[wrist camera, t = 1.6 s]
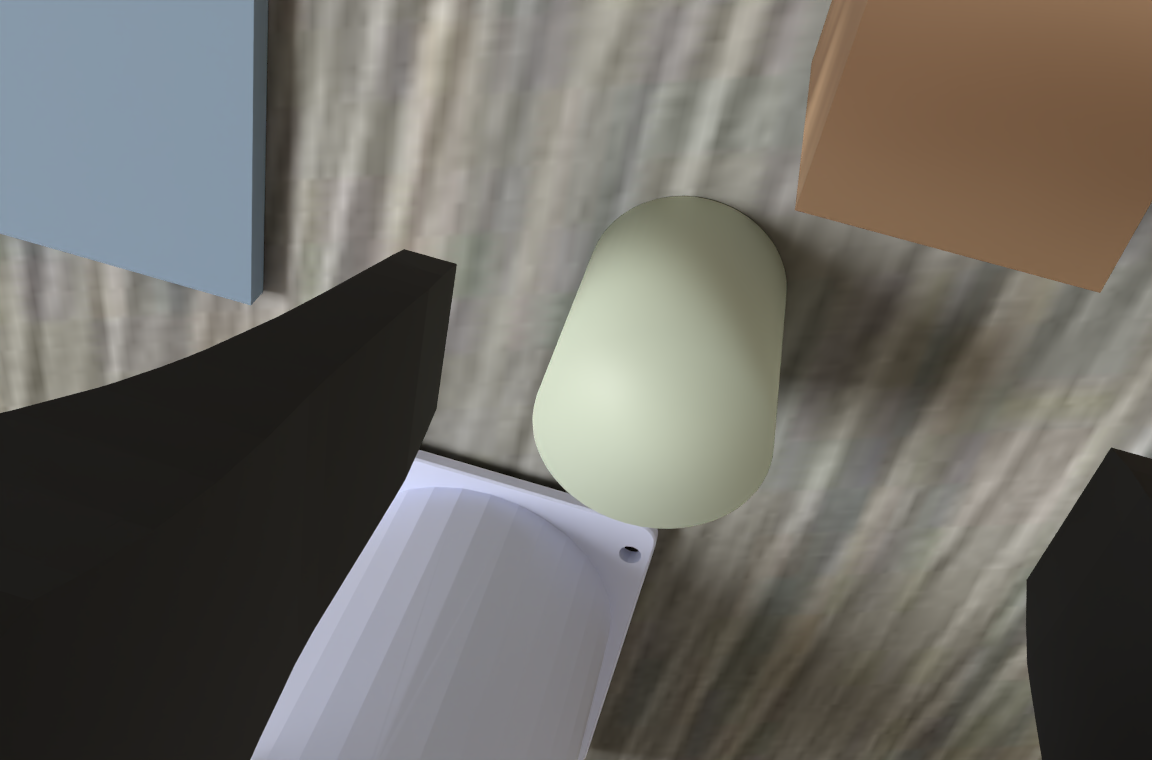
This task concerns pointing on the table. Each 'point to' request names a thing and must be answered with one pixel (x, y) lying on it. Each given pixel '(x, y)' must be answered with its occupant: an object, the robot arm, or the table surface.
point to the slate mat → (138, 135)
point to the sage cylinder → (668, 367)
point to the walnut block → (985, 128)
